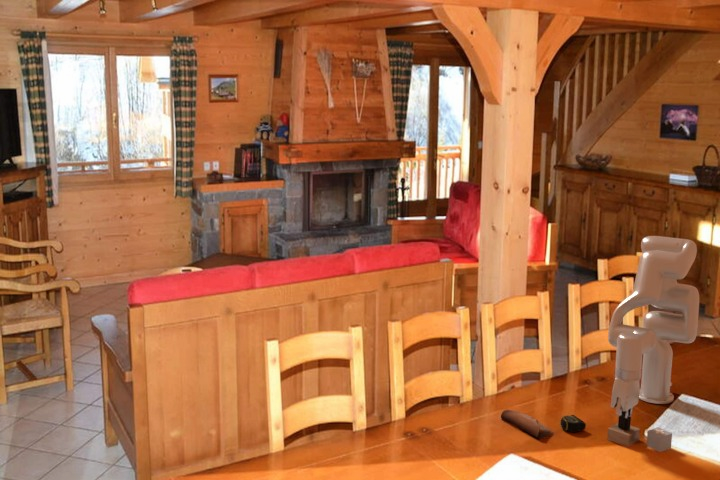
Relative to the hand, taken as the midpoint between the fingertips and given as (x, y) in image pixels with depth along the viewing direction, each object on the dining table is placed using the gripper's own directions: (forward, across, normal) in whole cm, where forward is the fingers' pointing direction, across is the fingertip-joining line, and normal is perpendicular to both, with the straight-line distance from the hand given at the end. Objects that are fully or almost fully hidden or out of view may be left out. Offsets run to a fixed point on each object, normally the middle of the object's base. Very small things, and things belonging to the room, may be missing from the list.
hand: (624, 428), depth 236 cm
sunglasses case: (+5, +12, -27) cm, 30 cm away
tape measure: (+4, +4, -16) cm, 16 cm away
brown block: (+4, 0, 0) cm, 4 cm away
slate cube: (+4, -3, +10) cm, 11 cm away
